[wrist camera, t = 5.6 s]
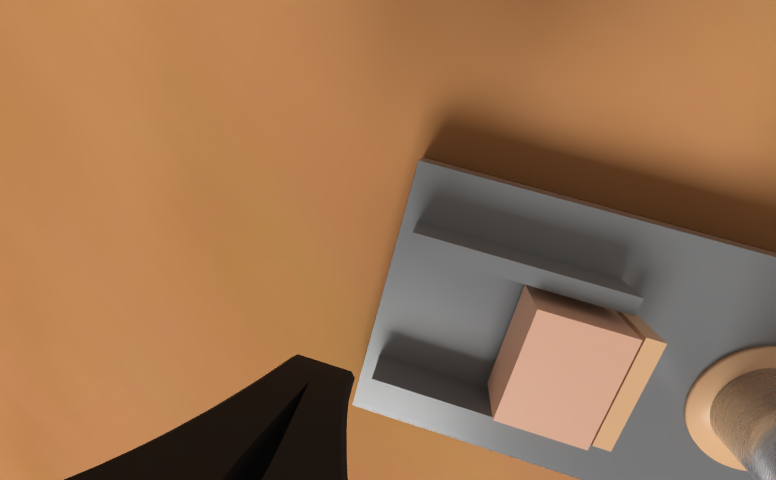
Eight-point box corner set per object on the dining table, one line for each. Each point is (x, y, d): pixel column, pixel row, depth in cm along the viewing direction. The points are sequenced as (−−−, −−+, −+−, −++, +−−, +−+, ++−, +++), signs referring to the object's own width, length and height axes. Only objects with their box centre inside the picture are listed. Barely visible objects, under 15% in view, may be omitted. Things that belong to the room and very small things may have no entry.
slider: (568, 408, 14) (587, 450, 12) (487, 382, 14) (493, 420, 12) (614, 310, 13) (642, 340, 11) (524, 284, 13) (537, 309, 11)
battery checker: (775, 507, 16) (874, 620, 13) (362, 376, 18) (338, 441, 14) (927, 293, 14) (1115, 355, 10) (422, 157, 15) (413, 164, 11)
